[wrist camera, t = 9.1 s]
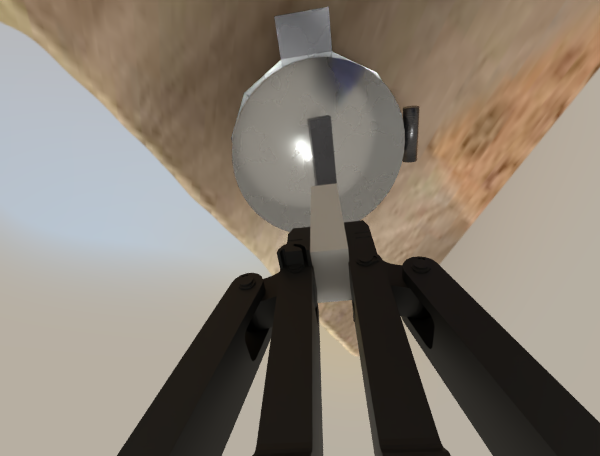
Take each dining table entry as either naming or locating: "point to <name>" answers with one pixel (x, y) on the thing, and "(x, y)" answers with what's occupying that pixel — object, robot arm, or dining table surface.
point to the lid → (317, 141)
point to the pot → (317, 43)
